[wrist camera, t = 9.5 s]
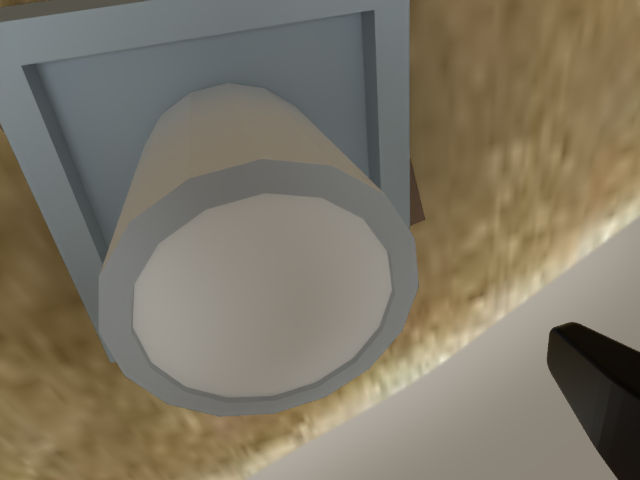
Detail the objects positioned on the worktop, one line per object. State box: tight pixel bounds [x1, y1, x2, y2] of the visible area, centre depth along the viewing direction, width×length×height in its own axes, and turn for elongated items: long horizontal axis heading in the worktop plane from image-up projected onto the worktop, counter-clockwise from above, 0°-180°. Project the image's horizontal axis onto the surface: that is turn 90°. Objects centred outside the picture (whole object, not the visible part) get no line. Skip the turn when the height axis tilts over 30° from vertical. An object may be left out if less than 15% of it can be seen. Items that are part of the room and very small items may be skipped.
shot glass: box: [99, 83, 419, 417], centre depth 14 cm, size 7×7×7 cm
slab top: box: [0, 0, 410, 363], centre depth 17 cm, size 11×11×3 cm
